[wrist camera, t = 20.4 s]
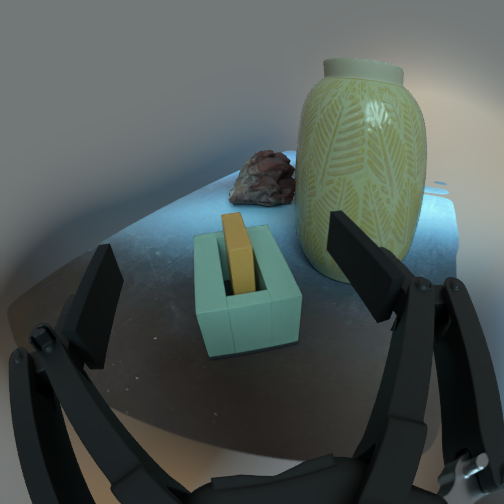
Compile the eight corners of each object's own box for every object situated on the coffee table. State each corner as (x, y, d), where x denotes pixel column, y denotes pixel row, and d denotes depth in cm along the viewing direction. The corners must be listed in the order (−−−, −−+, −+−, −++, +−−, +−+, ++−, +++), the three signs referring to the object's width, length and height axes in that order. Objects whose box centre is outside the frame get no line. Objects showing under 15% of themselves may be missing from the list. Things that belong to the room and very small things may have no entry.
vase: (405, 240, 41) (425, 80, 26) (401, 308, 29) (447, 68, 14) (313, 220, 48) (314, 67, 33) (274, 275, 36) (265, 54, 21)
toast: (258, 326, 28) (252, 246, 22) (239, 329, 28) (228, 250, 22) (246, 285, 34) (240, 211, 28) (231, 287, 34) (221, 214, 28)
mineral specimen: (250, 213, 63) (311, 199, 56) (219, 218, 52) (292, 201, 45) (239, 165, 62) (299, 147, 55) (207, 161, 51) (277, 136, 43)
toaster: (297, 344, 26) (302, 294, 22) (210, 360, 25) (195, 313, 21) (267, 265, 38) (265, 220, 34) (202, 276, 37) (193, 231, 33)
